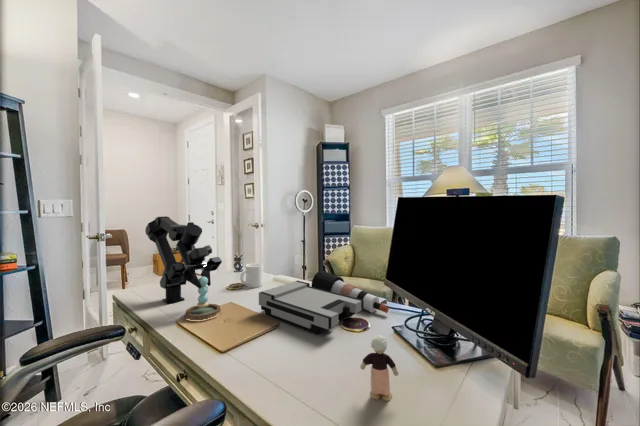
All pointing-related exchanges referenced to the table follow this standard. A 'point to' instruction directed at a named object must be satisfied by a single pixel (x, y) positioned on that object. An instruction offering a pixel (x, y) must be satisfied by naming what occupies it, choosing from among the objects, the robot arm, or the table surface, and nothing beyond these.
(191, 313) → the groove tray
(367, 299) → the cable
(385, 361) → the grandmother figurine
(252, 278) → the mug
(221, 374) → the table surface
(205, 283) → the bead stack
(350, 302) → the grey boxy piece
